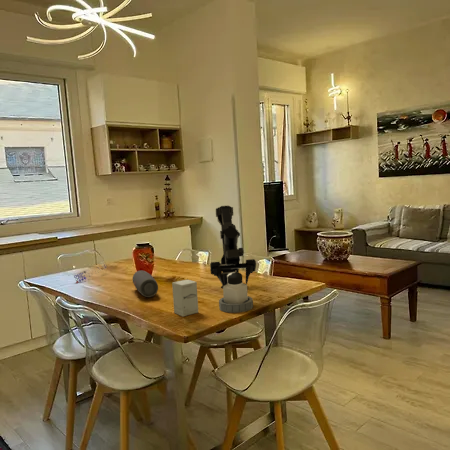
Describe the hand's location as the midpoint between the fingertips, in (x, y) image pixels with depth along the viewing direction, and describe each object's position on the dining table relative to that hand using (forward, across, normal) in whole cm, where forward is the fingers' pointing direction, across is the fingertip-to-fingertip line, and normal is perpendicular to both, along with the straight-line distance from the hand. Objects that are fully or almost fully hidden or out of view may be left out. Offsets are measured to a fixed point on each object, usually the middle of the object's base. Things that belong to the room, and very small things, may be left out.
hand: (235, 284), depth 173 cm
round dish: (+6, 0, +8) cm, 10 cm away
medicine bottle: (+4, 0, +7) cm, 8 cm away
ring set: (-47, -75, +62) cm, 108 cm away
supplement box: (+8, -20, +7) cm, 23 cm away
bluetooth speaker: (-16, -40, +32) cm, 54 cm away
